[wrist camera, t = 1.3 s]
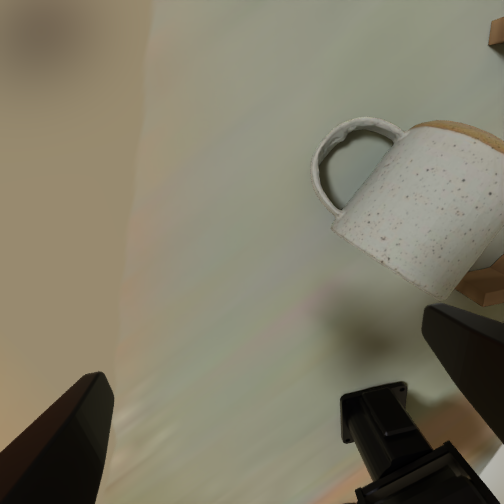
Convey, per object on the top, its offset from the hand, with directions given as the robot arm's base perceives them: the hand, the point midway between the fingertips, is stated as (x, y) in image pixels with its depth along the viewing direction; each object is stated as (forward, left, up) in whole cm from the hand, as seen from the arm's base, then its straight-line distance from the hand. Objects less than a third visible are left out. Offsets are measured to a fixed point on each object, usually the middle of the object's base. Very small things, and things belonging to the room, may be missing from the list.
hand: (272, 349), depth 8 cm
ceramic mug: (0, -10, -13) cm, 17 cm away
